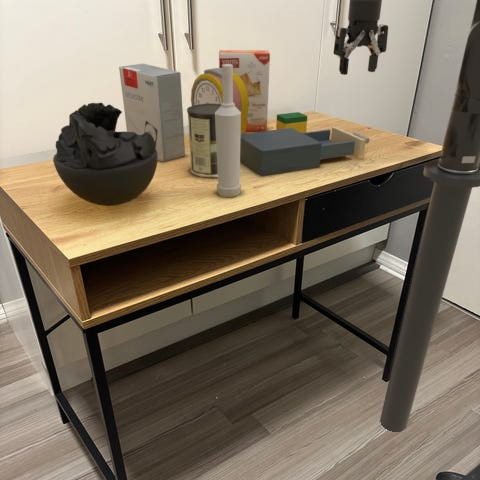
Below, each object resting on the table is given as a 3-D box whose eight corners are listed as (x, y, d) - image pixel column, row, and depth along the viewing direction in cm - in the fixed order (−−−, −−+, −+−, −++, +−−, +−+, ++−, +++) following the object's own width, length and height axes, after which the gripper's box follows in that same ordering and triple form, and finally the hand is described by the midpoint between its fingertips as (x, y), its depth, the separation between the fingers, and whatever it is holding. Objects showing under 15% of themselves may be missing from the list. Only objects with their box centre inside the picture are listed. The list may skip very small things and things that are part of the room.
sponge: (297, 133, 148) (298, 111, 144) (305, 138, 144) (307, 116, 140) (275, 136, 145) (276, 114, 142) (284, 141, 142) (285, 118, 138)
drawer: (347, 139, 139) (348, 124, 137) (377, 153, 129) (379, 137, 127) (286, 147, 133) (287, 132, 131) (313, 163, 123) (315, 147, 121)
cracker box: (220, 132, 149) (218, 52, 136) (219, 126, 153) (218, 49, 141) (267, 132, 149) (270, 52, 137) (266, 126, 154) (268, 49, 142)
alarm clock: (191, 138, 144) (187, 66, 133) (213, 132, 148) (211, 63, 138) (225, 149, 135) (224, 74, 124) (248, 143, 139) (249, 70, 129)
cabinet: (290, 150, 135) (291, 127, 131) (319, 167, 124) (321, 142, 120) (235, 157, 129) (235, 134, 126) (261, 176, 118) (262, 151, 115)
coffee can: (234, 164, 125) (234, 103, 117) (231, 178, 117) (231, 114, 109) (193, 163, 126) (190, 102, 118) (187, 177, 118) (183, 113, 109)
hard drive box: (127, 149, 135) (117, 66, 124) (151, 143, 140) (143, 62, 128) (162, 162, 126) (155, 74, 115) (186, 156, 130) (181, 70, 119)
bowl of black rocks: (134, 178, 117) (123, 90, 106) (179, 206, 104) (172, 109, 93) (49, 198, 107) (27, 103, 96) (86, 231, 94) (66, 126, 83)
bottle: (245, 194, 109) (246, 65, 94) (224, 199, 107) (221, 68, 92) (233, 187, 113) (232, 62, 98) (212, 191, 110) (208, 64, 96)
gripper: (350, -1, 115) (342, 77, 124) (400, -3, 120) (389, 72, 129) (331, -2, 121) (326, 73, 130) (380, -4, 125) (371, 68, 135)
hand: (357, 73), depth 130 cm, fingers open, 8 cm apart
